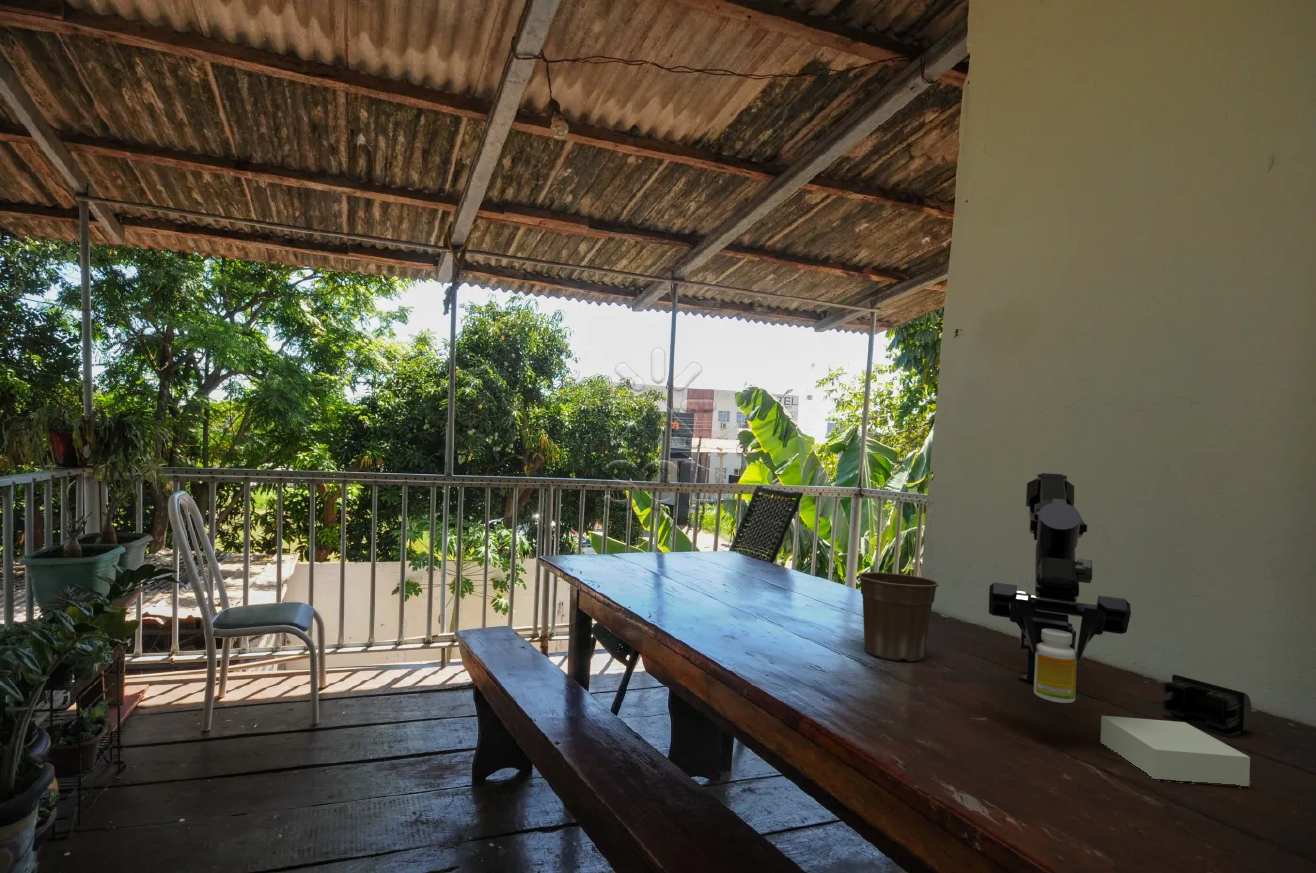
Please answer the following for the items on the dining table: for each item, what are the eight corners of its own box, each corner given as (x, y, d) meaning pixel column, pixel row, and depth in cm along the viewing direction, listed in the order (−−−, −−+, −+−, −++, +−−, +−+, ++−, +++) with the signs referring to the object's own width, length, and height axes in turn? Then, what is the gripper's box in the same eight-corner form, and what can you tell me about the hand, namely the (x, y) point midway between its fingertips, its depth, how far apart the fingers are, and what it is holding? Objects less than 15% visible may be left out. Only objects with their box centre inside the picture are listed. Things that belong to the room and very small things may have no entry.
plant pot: (868, 639, 156) (872, 568, 157) (943, 654, 147) (946, 579, 147) (843, 653, 143) (847, 576, 143) (923, 671, 133) (927, 588, 134)
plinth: (1100, 742, 102) (1101, 715, 102) (1184, 749, 101) (1184, 722, 101) (1153, 779, 90) (1154, 749, 90) (1249, 788, 89) (1250, 757, 89)
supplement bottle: (1081, 705, 98) (1084, 638, 99) (1040, 701, 99) (1043, 634, 100) (1066, 693, 104) (1069, 629, 104) (1028, 688, 105) (1031, 625, 105)
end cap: (1251, 733, 110) (1252, 690, 110) (1232, 739, 107) (1233, 696, 107) (1179, 711, 119) (1180, 672, 119) (1159, 716, 115) (1160, 676, 115)
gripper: (992, 532, 110) (986, 613, 100) (1131, 545, 101) (1141, 635, 91) (991, 574, 117) (986, 654, 107) (1121, 589, 108) (1129, 678, 98)
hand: (1056, 654), depth 100 cm, fingers closed on supplement bottle, 5 cm apart
